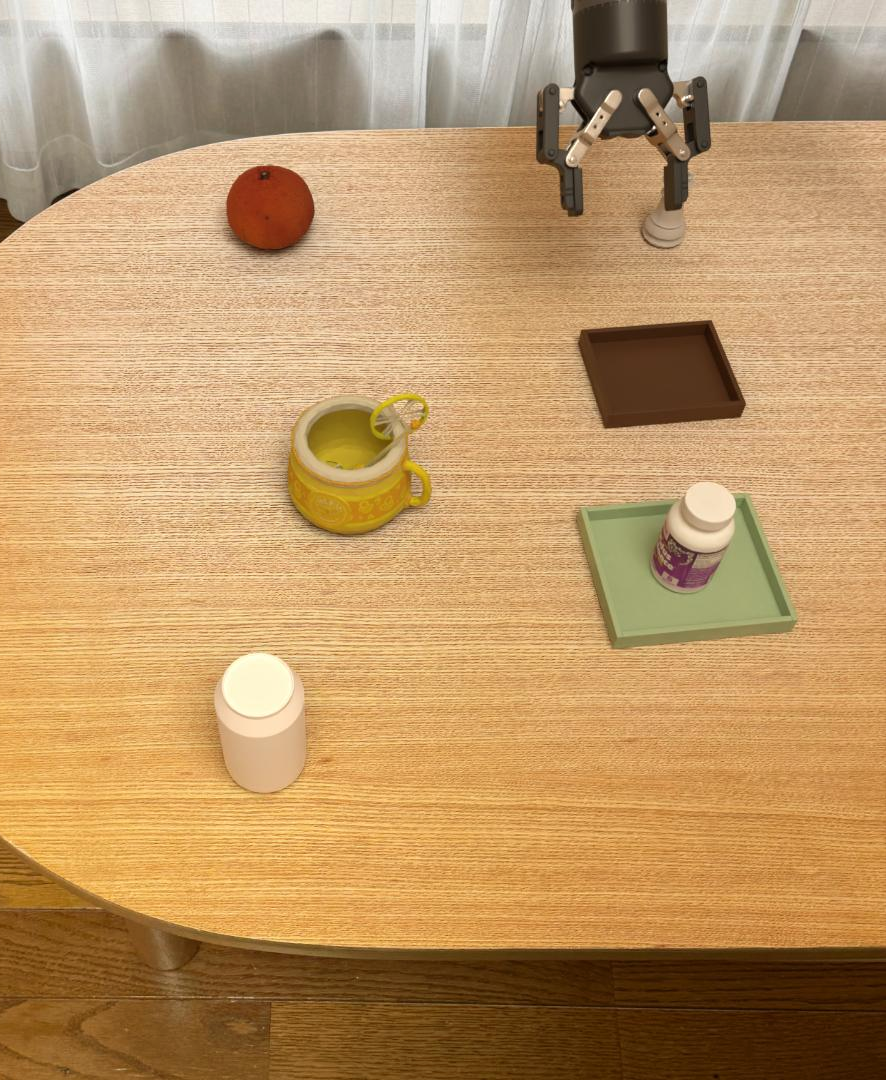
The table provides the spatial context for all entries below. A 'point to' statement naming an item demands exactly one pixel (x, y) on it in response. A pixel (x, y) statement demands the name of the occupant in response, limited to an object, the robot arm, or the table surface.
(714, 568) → the pill bottle
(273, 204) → the fruit
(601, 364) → the walnut tray
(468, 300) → the table surface
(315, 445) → the mug
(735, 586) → the green tray
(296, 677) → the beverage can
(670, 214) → the rook chess piece
